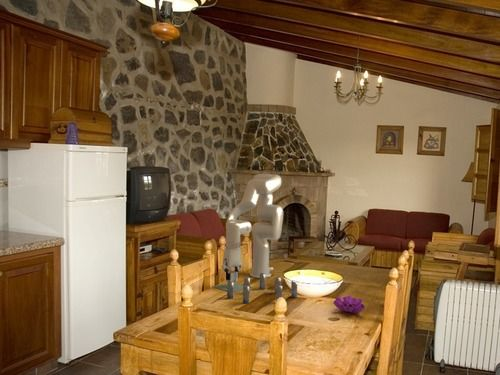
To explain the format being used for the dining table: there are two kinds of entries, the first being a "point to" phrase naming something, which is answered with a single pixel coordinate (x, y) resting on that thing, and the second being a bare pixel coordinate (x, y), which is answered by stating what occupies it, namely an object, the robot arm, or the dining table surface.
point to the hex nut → (233, 276)
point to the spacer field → (261, 286)
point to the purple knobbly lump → (349, 304)
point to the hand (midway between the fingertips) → (232, 278)
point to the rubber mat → (236, 287)
